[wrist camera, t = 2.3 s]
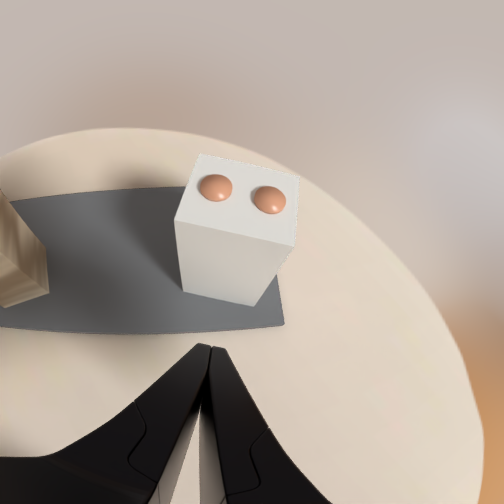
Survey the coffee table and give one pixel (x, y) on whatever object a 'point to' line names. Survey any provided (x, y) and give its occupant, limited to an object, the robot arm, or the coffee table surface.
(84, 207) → the mat
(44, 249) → the tile one
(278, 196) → the tile two
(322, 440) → the coffee table surface
